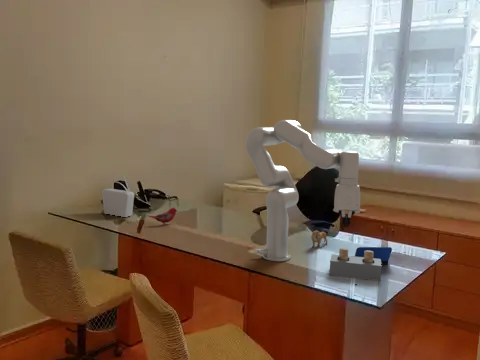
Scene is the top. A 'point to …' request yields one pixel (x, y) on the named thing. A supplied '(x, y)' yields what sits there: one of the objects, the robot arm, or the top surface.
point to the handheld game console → (376, 253)
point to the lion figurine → (318, 238)
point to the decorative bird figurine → (165, 216)
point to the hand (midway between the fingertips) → (346, 226)
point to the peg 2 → (368, 256)
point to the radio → (118, 201)
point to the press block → (355, 268)
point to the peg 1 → (343, 254)
